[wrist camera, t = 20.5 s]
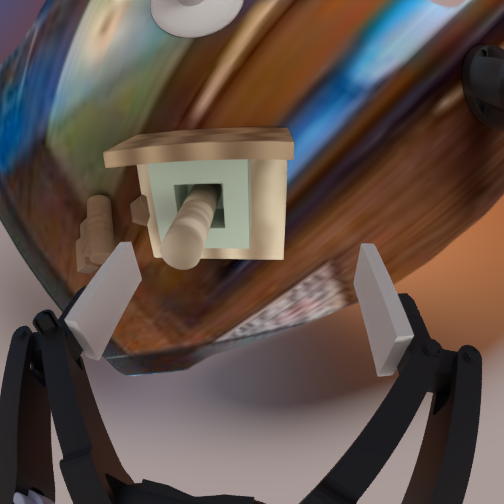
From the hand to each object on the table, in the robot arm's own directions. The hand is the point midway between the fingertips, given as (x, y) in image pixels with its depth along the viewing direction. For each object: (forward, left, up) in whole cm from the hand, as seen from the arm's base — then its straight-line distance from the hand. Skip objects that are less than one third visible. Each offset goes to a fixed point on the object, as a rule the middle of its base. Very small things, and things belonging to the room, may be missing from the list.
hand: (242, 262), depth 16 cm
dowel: (+7, +5, -25) cm, 26 cm away
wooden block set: (+26, +10, -27) cm, 39 cm away
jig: (+7, +7, -27) cm, 29 cm away
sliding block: (+7, +5, -26) cm, 27 cm away
